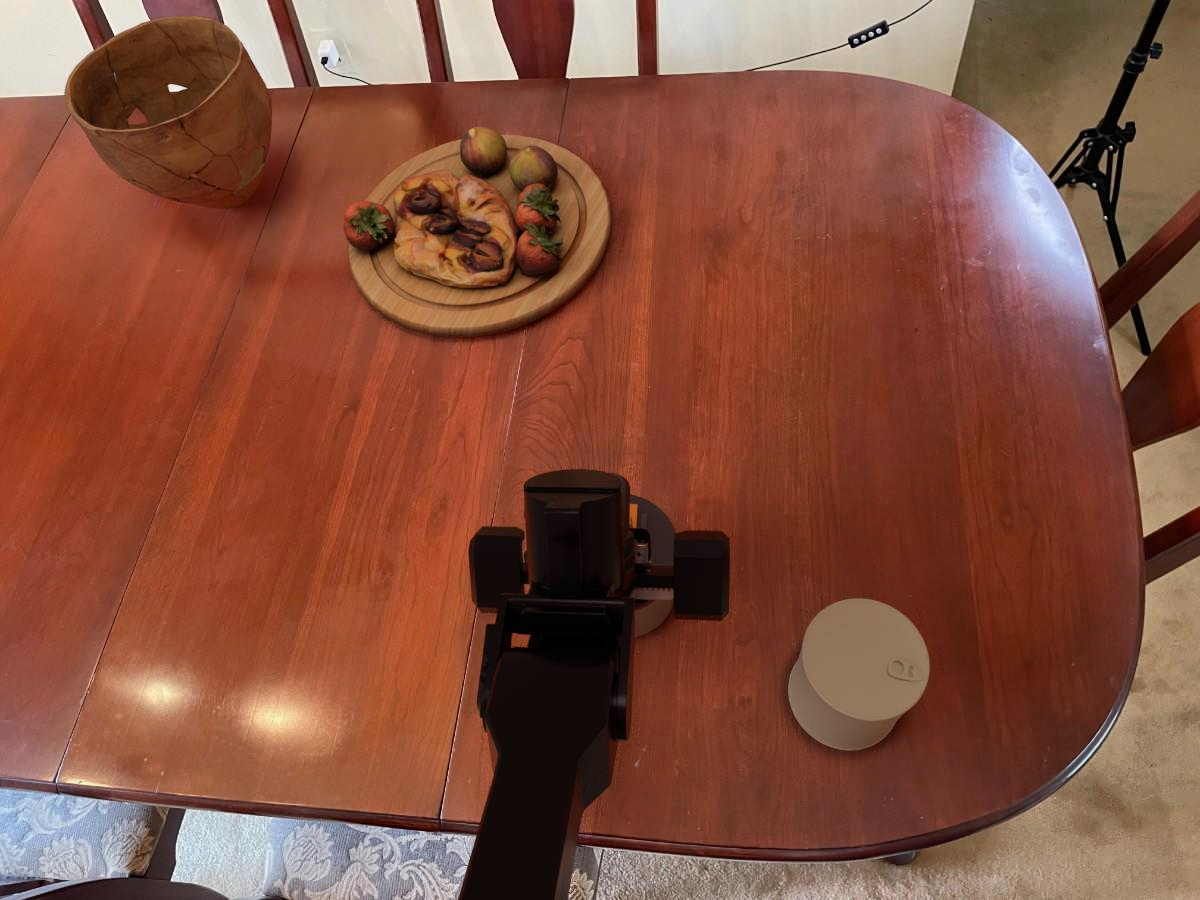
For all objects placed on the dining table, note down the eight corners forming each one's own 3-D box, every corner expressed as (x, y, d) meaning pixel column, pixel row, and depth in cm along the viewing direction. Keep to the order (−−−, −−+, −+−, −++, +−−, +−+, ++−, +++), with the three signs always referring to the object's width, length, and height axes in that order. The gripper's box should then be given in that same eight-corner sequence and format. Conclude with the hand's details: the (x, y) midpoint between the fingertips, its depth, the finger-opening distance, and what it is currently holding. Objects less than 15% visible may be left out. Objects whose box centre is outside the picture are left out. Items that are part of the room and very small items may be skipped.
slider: (636, 540, 71) (633, 524, 69) (593, 539, 72) (589, 523, 69) (638, 505, 73) (635, 489, 70) (596, 505, 73) (592, 488, 71)
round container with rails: (680, 645, 76) (677, 611, 68) (561, 641, 77) (544, 607, 69) (682, 534, 81) (680, 490, 73) (571, 532, 82) (556, 488, 74)
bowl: (207, 138, 118) (122, 2, 101) (337, 154, 113) (271, 14, 96) (130, 249, 109) (21, 121, 91) (268, 271, 104) (181, 140, 87)
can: (886, 767, 69) (918, 739, 59) (775, 728, 71) (787, 694, 61) (909, 661, 73) (943, 617, 63) (803, 627, 75) (818, 579, 65)
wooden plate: (318, 334, 98) (288, 287, 91) (393, 143, 113) (372, 90, 106) (589, 352, 93) (579, 304, 86) (629, 148, 108) (624, 93, 101)
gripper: (733, 503, 51) (728, 437, 66) (435, 498, 54) (495, 435, 68) (730, 668, 54) (726, 569, 69) (448, 656, 57) (503, 563, 71)
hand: (612, 531), depth 69 cm, fingers closed, pressing on slider
